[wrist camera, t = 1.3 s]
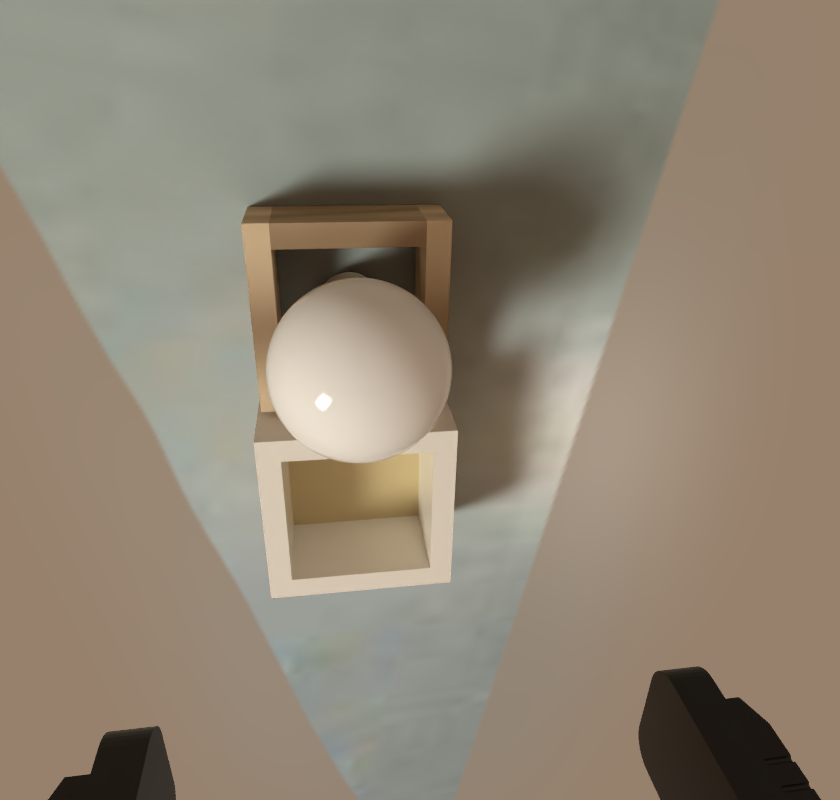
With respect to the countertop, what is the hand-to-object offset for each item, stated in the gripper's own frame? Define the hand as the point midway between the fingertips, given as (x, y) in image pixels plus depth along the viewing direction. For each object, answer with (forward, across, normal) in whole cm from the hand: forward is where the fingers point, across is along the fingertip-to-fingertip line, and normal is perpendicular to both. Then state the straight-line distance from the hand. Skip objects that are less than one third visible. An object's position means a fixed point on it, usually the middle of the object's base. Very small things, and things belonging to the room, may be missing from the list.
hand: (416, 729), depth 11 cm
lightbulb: (+22, 0, 0) cm, 22 cm away
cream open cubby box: (+22, 0, +9) cm, 23 cm away
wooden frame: (+22, 0, 0) cm, 22 cm away
